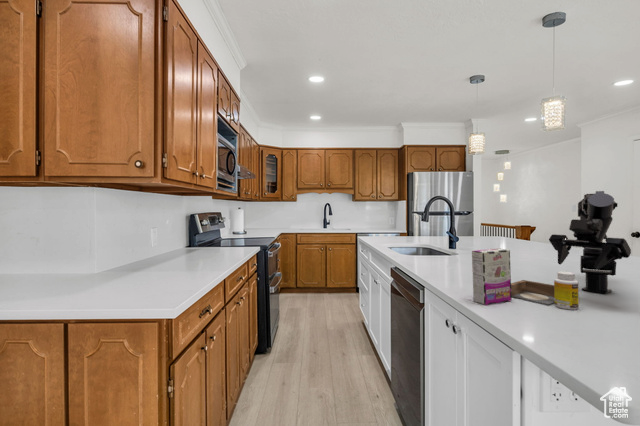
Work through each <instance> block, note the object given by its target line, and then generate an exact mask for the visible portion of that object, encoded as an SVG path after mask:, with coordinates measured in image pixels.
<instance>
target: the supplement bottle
mask: <svg viewBox="0 0 640 426" xmlns="http://www.w3.org/2000/svg"><path fill="white" fill-rule="evenodd" d="M553 283H554V284H553V285H554V306H555V307H557V308H559V309H562V310H569V311H574V310H578V309H579V305H580V304H579V281H578V280H577V279H576V273H574V272H569V271H557V277H556V278H555V277H554V281H553Z"/></svg>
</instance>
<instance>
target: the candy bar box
mask: <svg viewBox="0 0 640 426" xmlns="http://www.w3.org/2000/svg"><path fill="white" fill-rule="evenodd" d="M471 265H472V293H473V294H472V296H473V297H472V300H473V302H475V303H478V304H480V305H484V306H489V305H496V304H500V303H506V302H511V301H512V299H513V298H512V297H511V283H512V278H511V277H512V275H511V271H512V270H511V249H507V248H506V249H505V248H490V249H489V248H488V249H477V250H472V251H471Z"/></svg>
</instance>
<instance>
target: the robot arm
mask: <svg viewBox="0 0 640 426" xmlns="http://www.w3.org/2000/svg"><path fill="white" fill-rule="evenodd" d="M616 208H618V202H616V201H615V198H614V196H612V195H610V194H608V193H605V190H597V191H595V193H586V194H583V199H581V200H580V201H579V202H578V203H577V217H579V219H571V220H570V224H569V228H568V230H569V231H572V232H573V237H574V238H576V239H573V238H572V239H571V238H568V236H567V235H565V234H555V233H554V234H551V235H550V237H549V239H548V241H549V243H550V244H551V245H552V247H553V249H554V250H555V251H557V264H558V265H562V264H563V263H564V262H565V260H566V258H567V257H568V256H569V255H570V251H571V249H572V247H576V248H577V247H579V248H582V249H583V250H582V255H580V265H579V267H580V268H579V270H580V273H581V274H584V275H585V287H581V291H585V292H591V293H596V294H603V295H607V294H609V293H612V292H613V291H612V289H610V288H609V286H608V282H609V281H608V277H609V276H612V277H614V276H616V275H617V274H616V273H617V261H616V260H622V259H623V258H625V259H629V258H630V256H631V254H632V250H631V247H630V245H629V243H628V242H627V240H626V239H625V238H623V237H622V238H621V237H608V235H607V232H608V231H609V229H610V225H611V224H612V222H613V216H612V215H613V211H614V210H616ZM604 240H605V241H604Z"/></svg>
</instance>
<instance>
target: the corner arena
mask: <svg viewBox="0 0 640 426" xmlns="http://www.w3.org/2000/svg"><path fill="white" fill-rule="evenodd" d="M511 299H517V300H521V301H527V302H529V303H535V304H540V305H544V306H548V307H549V306H553V305H555V303H554V284H550V283H545V282H544V283H542V282H537V281H530V280H525V279H522V280H519V281H514V282H511Z"/></svg>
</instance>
